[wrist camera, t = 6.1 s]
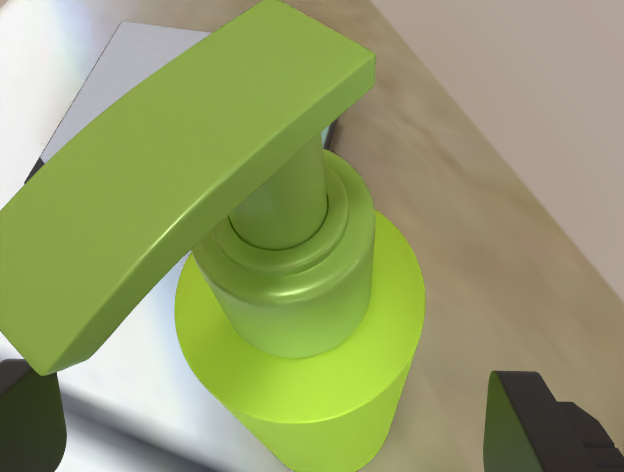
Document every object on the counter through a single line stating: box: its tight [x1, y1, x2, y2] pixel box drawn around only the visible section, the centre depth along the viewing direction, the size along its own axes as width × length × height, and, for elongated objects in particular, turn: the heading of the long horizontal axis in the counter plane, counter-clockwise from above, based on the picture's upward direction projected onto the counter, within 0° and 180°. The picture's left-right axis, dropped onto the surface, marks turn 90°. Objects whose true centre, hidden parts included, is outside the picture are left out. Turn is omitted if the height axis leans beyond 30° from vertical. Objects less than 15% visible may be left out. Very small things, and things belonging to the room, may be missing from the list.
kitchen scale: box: [24, 21, 337, 184], centre depth 30 cm, size 14×12×4 cm
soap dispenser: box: [0, 0, 426, 472], centre depth 15 cm, size 6×7×20 cm
